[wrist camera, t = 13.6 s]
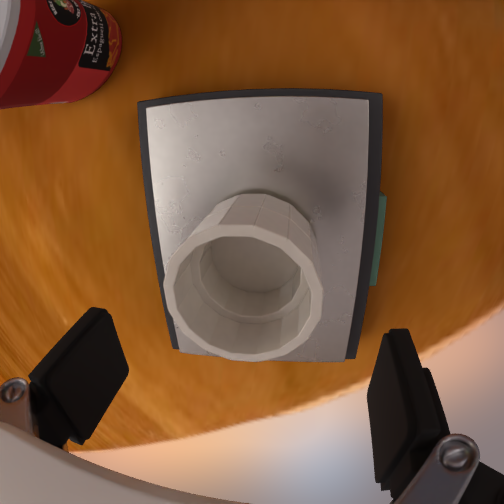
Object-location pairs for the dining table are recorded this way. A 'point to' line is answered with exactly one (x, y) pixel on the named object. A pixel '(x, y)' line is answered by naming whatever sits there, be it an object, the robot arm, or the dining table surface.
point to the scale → (373, 195)
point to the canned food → (54, 51)
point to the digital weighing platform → (270, 185)
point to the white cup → (247, 280)
